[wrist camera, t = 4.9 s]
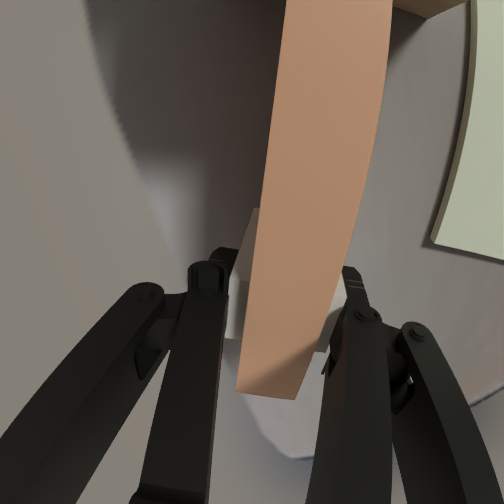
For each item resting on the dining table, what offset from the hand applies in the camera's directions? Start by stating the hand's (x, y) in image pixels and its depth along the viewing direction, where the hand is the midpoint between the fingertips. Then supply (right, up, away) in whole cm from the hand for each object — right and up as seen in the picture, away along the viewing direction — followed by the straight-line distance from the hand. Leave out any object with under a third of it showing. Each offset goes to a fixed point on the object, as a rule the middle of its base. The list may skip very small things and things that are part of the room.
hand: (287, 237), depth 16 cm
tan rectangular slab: (+1, +5, -1) cm, 5 cm away
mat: (+15, +7, -4) cm, 17 cm away
